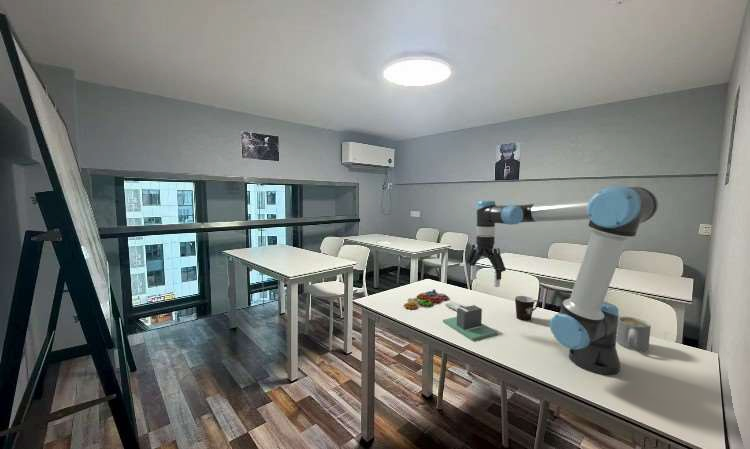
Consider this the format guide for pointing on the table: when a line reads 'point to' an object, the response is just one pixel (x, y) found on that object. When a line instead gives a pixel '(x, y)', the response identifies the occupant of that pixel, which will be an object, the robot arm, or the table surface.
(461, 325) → the plug
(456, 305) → the gun
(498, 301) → the table surface
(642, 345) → the coffee mug
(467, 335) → the board
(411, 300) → the gear puzzle
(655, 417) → the table surface
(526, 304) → the coffee mug
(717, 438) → the table surface
